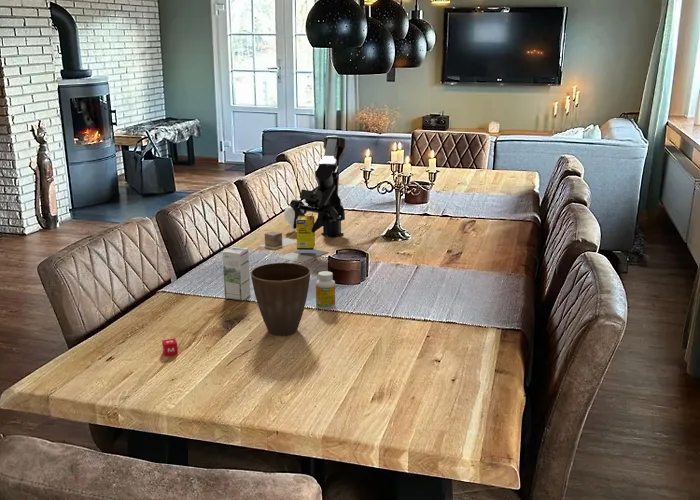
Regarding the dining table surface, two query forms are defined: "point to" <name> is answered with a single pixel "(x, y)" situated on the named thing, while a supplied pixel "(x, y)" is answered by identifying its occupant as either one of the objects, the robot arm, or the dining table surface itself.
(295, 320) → the plant pot
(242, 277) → the syrup box
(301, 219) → the supplement box
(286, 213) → the white vase
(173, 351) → the red letter cube
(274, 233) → the walnut block
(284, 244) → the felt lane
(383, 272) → the dining table surface
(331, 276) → the supplement bottle
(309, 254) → the plate
